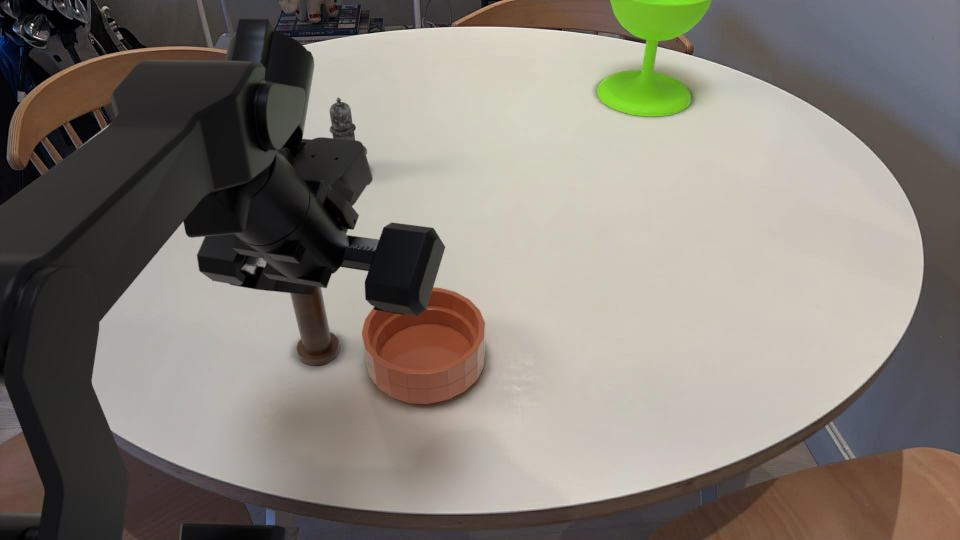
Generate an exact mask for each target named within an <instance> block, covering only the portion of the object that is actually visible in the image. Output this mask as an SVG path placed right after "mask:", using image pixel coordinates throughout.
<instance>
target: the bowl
mask: <svg viewBox="0 0 960 540" xmlns="http://www.w3.org/2000/svg"><path fill="white" fill-rule="evenodd" d="M361 336H362V342H363V349H364V357H365V363H366V368H367V372H368V376H369V378H370V379H371V381H372V382H373V383H374V384H375V386H376V388H377V390H380V391H381V392H383V393H384V394H386V395H387V396H389V397H390V398H391V399H394V400H397V401H400V402H401V401H402V402H404V403H407V404H423V405H424V404H425V405H429V404H435V403H440V402H444V401H449V400H451V399H453V398H454V397H457V396H459V395H461V394H462V393H464V392H467V390H468V389H469V388H470V387H471V386H472V385H473V384H475V383H476V382H477V380H479V377H480V376H481V373H482V371H483V369H484V367H485V356H486V355H485V354H486V353H485V352H486V323H485V320H484V317H483V315H482V312H481V309H479V308H478V307H477V305H476V304H475V303H474V302H473V301H472V300H471V299H469V298H468V297H466V296H464V295H463V294H460V293H458V292H456V291H454V290H450V289H446V288H442V287H436V286H435V287H434V286H433V290H432V293H431V296H430V300H429V303H428V306H427V309H426V311H424V312H423V313H421V314H420V315H418V316H413V315H400V314H394V313H388V312H383V311H377V310H374V307H372V309H371V310H370V312H369V313H368V315H367V316H366V317H365V319H364V322H363V326H362V330H361Z"/></svg>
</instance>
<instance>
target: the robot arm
mask: <svg viewBox="0 0 960 540" xmlns="http://www.w3.org/2000/svg"><path fill="white" fill-rule="evenodd" d="M226 49H227V50H226V53H225V58H224V60H209V59H208V60H207V59H206V60H204V59H201V60H198V59H197V60H196V59H195V60H194V59H193V60H192V59H145V60H141V61H139V62H138V63H137V64H136V65H135V66H134V67H133V68H132V69H131V70H130V72H128V74H127V75H126V76H125V77H124V78H123V80H122V81H121V82H120V83H119V84H118V85H117V86H116V88H114V90H113V91H112V92H111V94H110V96H109V100H110V103H111V107H112V110H113V113H114V118H113V120H111V122H110V123H109V124H108V125H107V127H105V128H104V129H103V130H101V131H99V132H98V133H97V134H96V135H94V136H93V137H92V138H90V139H89V140H88V141H86V142H84V143H83V144H82V145H81V146H79V148H76V150H74V151H73V152H72V153H70V154H68V155H67V156H66V157H65V158H63V159H62V160H61V161H58V163H57V164H55V165H54V166H52V167H51V168H49V169H48V170H47V171H46V172H44V173H43V174H41V175H40V176H39V177H37V178H36V179H35V180H33V181H32V182H30V183H29V184H28V185H27V186H25V187H24V188H22V189H21V190H20V191H18V192H17V193H15V194H14V195H13V196H12V197H9V199H7V200H6V201H4V202H3V203H2V204H0V387H5V390H6V392H7V394H8V397H9V400H10V402H11V405H12V407H13V410H14V412H15V416H16V419H17V421H18V423H19V425H20V428H21V431H22V434H23V436H24V439H25V442H26V444H27V447H28V449H29V452H30V455H31V458H32V460H33V463H34V465H35V468H36V471H37V473H38V476H39V478H40V481H41V484H42V486H43V491H44V492H43V493H44V494H43V495H44V496H43V501H42V506H41V508H42V509H41V512H40V513H33V512H31V513H30V512H2V511H0V540H126V539H125V537H124V529H125V528H124V527H125V521H126V515H127V513H126V512H127V505H128V498H129V491H130V479H129V478H130V477H129V471H128V468H127V465H126V464H125V461H124V459H123V456H122V454H121V452H120V448H119V447H118V444H117V442H116V439H115V437H114V434H113V432H112V429H111V426H110V424H109V422H108V419H107V417H106V415H105V413H104V410H103V408H102V404H101V403H100V400H99V397H98V395H97V393H96V390H95V387H94V385H93V374H94V366H95V360H96V355H97V348H98V340H99V335H100V322H101V321H102V320H103V318H104V317H105V316H106V315H107V314H108V313H109V311H110V310H111V309H112V308H113V307H114V306H115V304H116V303H117V302H118V301H119V299H120V298H121V297H122V296H123V295H124V293H125V292H126V291H127V290H128V289H129V287H130V286H131V285H132V284H133V283H134V281H136V280H137V278H138V276H140V274H141V273H142V272H143V271H144V270H145V268H146V267H147V266H148V265H149V263H150V262H151V261H152V260H153V259H154V257H155V256H156V255H157V254H158V253H159V252H160V250H161V249H162V248H163V247H164V245H165V244H166V243H167V242H168V241H169V239H171V237H172V236H173V235H174V233H175V232H176V231H177V230H178V229H179V227H180V226H181V225H182V224H183V226H184V227H183V228H184V232H185V235H186V236H187V237H188V238H193V239H195V238H203V237H204V238H203V240H202V243H201V244H200V246H199V249H198V251H197V254H196V261H197V266H198V271H199V272H200V273H201V274H203V275H204V276H205V277H207V278H208V279H209V280H211V281H212V282H218V283H222V284H223V283H224V284H228V285H231V286H233V287H238V288H239V287H240V288H246V289H251V290H258V291H265V292H266V291H267V292H276V293H286V294H287V293H288V294H290V293H294V294H303V295H313V294H314V291H315V289H316V286H317V287H321V288H324V289H327V288H328V287H329V286H328V285H329V282H330V280H331V277H332V274H335V273H336V272H337V271H338V270H339V269H340V268H345V269H350V270H351V269H352V270H358V271H364V272H367V274H366V276H365V277H366V278H365V279H364V299H365V301H367V303H368V304H369V305H370V306H372V307H373V308H374V310H377V311H383V312H388V313H394V314H400V315H413V316H418V315H420V314H421V313H423V312H424V311H426V309H427V306H428V303H429V300H430V296H431V293H432V290H433V287H434V286H435V283H436V279H437V277H438V273H439V271H440V270H439V269H440V267H441V263H442V259H443V257H444V253H445V249H446V245H445V244H444V242H443V241H442V239H441V237H440V236H439V234H438V233H437V231H436V229H435V228H434V227H430V226H422V225H415V224H414V225H413V224H406V223H399V222H389V223H388V224H386V225H384V226H383V228H382V231H381V233H380V237H379V239H378V238H371V237H363V236H357V235H350V234H347V233H348V231H349V230H351V231H352V230H353V231H354V230H355V228H356V225H357V222H358V220H359V217H360V214H359V213H358V212H357V211H356V210H355V208H354V207H353V206H354V205H355V204H356V203H357V201H358V199H359V198H360V197H361V195H362V194H363V192H364V191H365V189H366V188H367V186H370V185H371V183H372V182H373V174H372V170H371V168H370V164H369V161H368V157H367V154H365V150H364V147H363V146H364V144H363V143H362V141H360V140H356V139H355V140H346V139H335V138H333V137H324V136H323V137H314V138H312V139H309V138H304V132H305V126H306V120H307V114H308V108H309V102H310V101H309V100H310V95H311V89H312V82H313V77H314V70H315V58H314V56H313V54H312V52H311V51H310V50H308V49H307V48H306V47H305V46H304V44H302V43H300V41H298V40H297V39H295V38H293V37H292V36H290V35H288V34H285V33H282V32H279V31H277V30H274V27H273V25H272V22H271V20H270V18H239V19H238V22H237V26H236V30H235V35H234V36H233V37H232V38H231V39H230V40H229V43H228V45H227V48H226ZM299 533H300V526H281V525H278V524H253V523H249V524H247V523H217V522H215V523H214V522H181V523H180V527H179V536H178V540H302V539H301V538H299V537H298V536H299Z"/></svg>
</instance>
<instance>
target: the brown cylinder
mask: <svg viewBox="0 0 960 540" xmlns="http://www.w3.org/2000/svg"><path fill="white" fill-rule="evenodd" d="M289 294H290V295H289V296H290V298H291V303H292V307H293V311H294V315H295V320H296V324H297V328H298V331H299V336H300V339H299V341H298V342H297V345H296V354H297V356H298V359H299V360H300V361H301V362H302V363H304V364H305V365H308V366H315V367H316V366H317V367H318V366H322V365H323V366H324V365H326V364H328V363H330V362H332V361H333V360H334V359H335V358H336V357H337V356H338V354H339V352H340V350H341V349H340V341H339V338H338V336H337V335H335V334H334V333H333V332H331V331H330V326H329V320H328V316H327V311H326V306H325V301H324V296H323V291H322V287H317V286H316V289H315V291H314V294H313V295H303V294H294V293H289Z"/></svg>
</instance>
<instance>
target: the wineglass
mask: <svg viewBox="0 0 960 540" xmlns="http://www.w3.org/2000/svg"><path fill="white" fill-rule="evenodd" d="M712 1H713V0H609V2H610V5H611V8H612V13H613V15H614V17H615V18H616V19H617V21H618V22H619V25H621V26H622V28H623V29H625V30H626V31H628V33H630V35H632V36H633V37H636V38H638V39H642V40H645V41H646V42H645V47H644V55H643V59H642V67H641V70H626V71H620V72H616V73H613V74H611V75H609V76H607V77H605V78H604V79H603V80H602V81H601V82H600V83H599V84H598V86H597V89H596V94H597V98H598V99H599V100H600V101H601V102H602V103H603V104H604V105H605V106H607V107H609V109H613V110H615V111H617V112H619V113H624V114H628V115H630V116H631V115H632V116H637V117H645V118H646V117H647V118H649V117H655V118H656V117H657V118H659V117H666V116H671V115H675V114H678V113H681V112H682V111H684V110H686V109H687V108H688V107H689V106H690V104H691V103H692V94H691V92H690V90H689V88H688V87H687V85H685V84H684V83H683V82H682V81H680V80H678V79H677V78H675V77H673V76H670V75H667V74H665V73H661V72H656V71H654V69H655V64H656V57H657V52H658V46H659V42H664V41H671V40H674V39H676V38H678V37H680V36H683V35H684V34H686V33H688V32H689V31H691V30H692V29H693V28H694V27H695V26H696V25H698V24H699V23H700V21H701V20H702V19H703V17H704V16H705V14H706V13H707V12H708V11H709V9H710V6H711V3H712Z"/></svg>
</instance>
